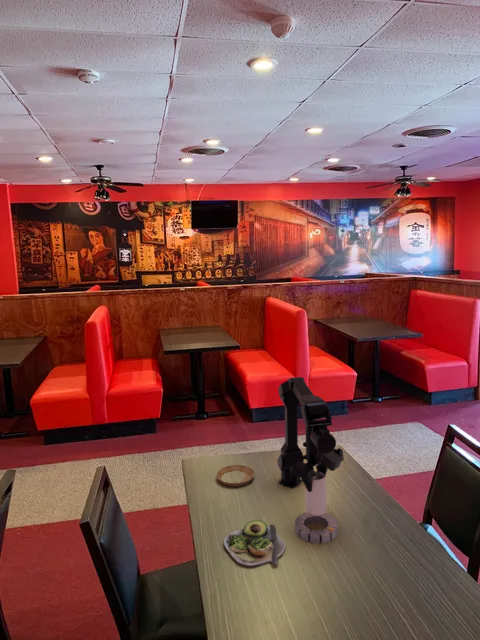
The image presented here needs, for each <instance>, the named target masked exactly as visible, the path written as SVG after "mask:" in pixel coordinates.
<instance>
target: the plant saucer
mask: <svg viewBox="0 0 480 640" xmlns="http://www.w3.org/2000/svg"><path fill="white" fill-rule="evenodd" d="M233 471H240V472H243V473H245V474H246V476H245V478H243V479H244V480H243V481H240V483H237V481H235V482H233V483H228V482H224V481H222V480H221V477H222V475H224V474H225V473H228V472H233ZM255 474H256V473H255V470H254V469H253V468H252V467H250V466H247V465H242V464H232V465H227V466H224V467H221V468H220V469H219V470H218V471H217V473H216V478H217V479H218V481H220V482H221V483H222V484H224V485H226V486H228V487H241V486H245V485H246V484H248V483H250V482H251V481H252V479H253V478H254V477H255Z"/></svg>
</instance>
